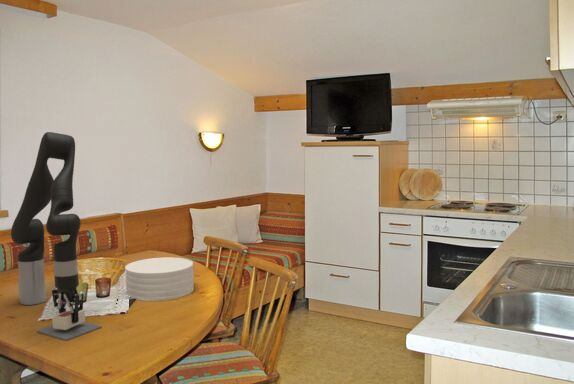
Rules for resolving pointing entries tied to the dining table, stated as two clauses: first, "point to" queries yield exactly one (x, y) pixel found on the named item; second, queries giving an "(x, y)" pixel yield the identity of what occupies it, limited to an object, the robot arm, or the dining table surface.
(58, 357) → the dining table surface
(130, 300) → the chocolate bar
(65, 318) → the card box
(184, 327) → the dining table surface
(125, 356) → the dining table surface
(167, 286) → the plate stack
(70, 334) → the mat
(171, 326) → the dining table surface
